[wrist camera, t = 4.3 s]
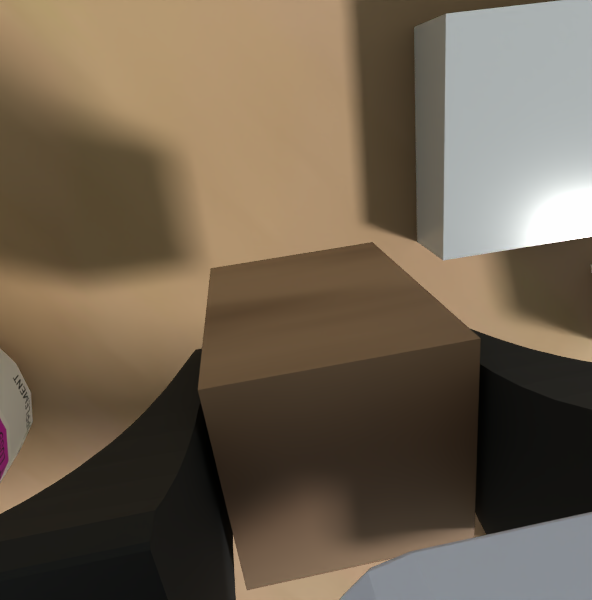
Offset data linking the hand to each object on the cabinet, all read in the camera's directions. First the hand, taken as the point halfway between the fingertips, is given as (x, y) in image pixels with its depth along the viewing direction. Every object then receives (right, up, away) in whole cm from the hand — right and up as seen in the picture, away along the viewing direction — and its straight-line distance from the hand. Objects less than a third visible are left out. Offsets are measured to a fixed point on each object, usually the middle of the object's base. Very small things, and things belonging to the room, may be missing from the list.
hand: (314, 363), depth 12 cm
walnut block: (0, +1, +2) cm, 2 cm away
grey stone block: (+8, +9, +7) cm, 14 cm away
